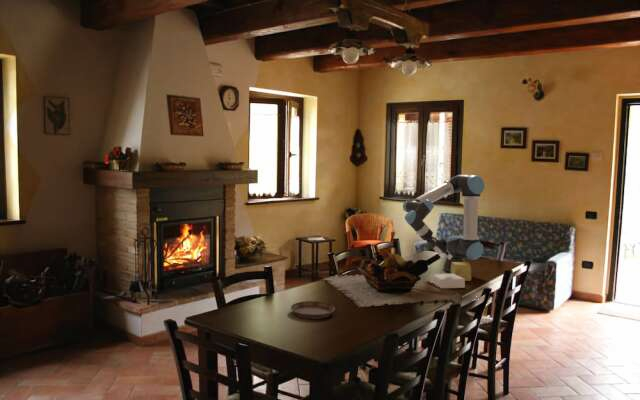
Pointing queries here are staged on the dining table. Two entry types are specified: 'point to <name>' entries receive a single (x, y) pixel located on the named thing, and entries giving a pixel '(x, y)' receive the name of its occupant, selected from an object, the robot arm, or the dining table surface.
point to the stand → (447, 280)
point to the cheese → (461, 270)
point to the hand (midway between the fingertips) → (445, 256)
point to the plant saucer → (312, 309)
